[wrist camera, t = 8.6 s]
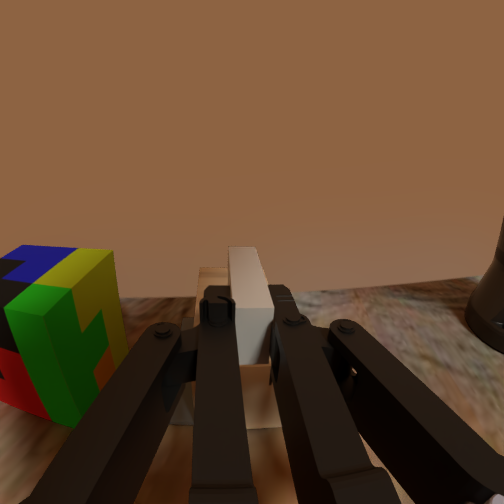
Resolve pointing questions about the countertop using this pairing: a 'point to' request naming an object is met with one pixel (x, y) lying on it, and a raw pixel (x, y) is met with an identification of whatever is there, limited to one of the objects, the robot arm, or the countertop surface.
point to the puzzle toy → (58, 329)
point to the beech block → (244, 367)
